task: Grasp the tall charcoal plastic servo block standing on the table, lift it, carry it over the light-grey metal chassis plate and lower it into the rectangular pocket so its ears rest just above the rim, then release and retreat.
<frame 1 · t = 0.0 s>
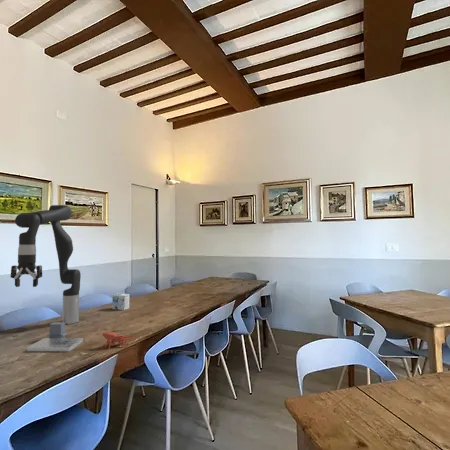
hand: (26, 286, 154), 29 cm above the table, fingers open, 8 cm apart
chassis: (56, 346, 154), on the table
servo: (57, 338, 166), on the table
light bulb box: (120, 309, 236), on the table
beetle: (118, 346, 156), on the table
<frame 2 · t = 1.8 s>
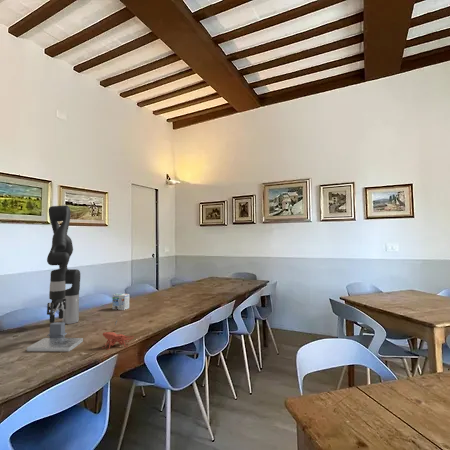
hand: (56, 320, 166), 10 cm above the table, fingers open, 8 cm apart
nothing on the table moved.
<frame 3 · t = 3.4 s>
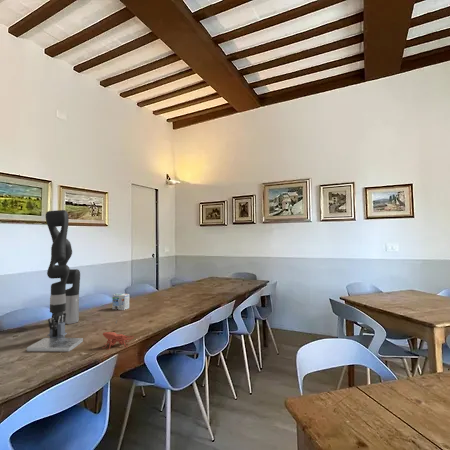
hand: (57, 335, 166), 2 cm above the table, fingers closed on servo, 4 cm apart
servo: (57, 338, 166), on the table, touching gripper
everything else where it was.
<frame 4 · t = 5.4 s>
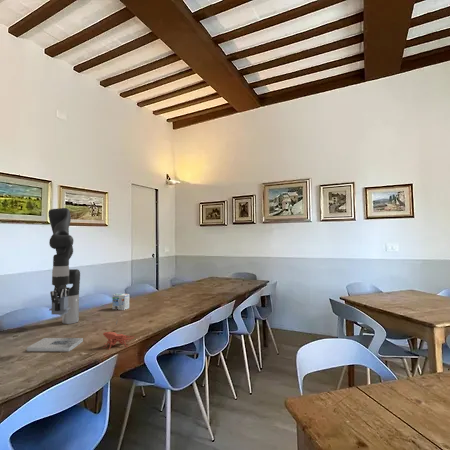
hand: (59, 309, 155), 18 cm above the table, fingers closed on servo, 4 cm apart
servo: (59, 313, 155), point 16 cm above the table, touching gripper
everything else where it was.
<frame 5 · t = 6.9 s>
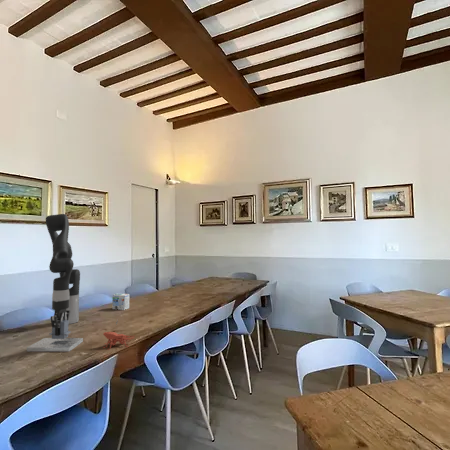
hand: (60, 333, 154), 6 cm above the table, fingers closed on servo, 4 cm apart
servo: (60, 337, 154), point 4 cm above the table, touching gripper
everything else where it was.
when the fingers open (3 cm above the table, at t = 7.8 s): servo drops 1 cm, resting on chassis.
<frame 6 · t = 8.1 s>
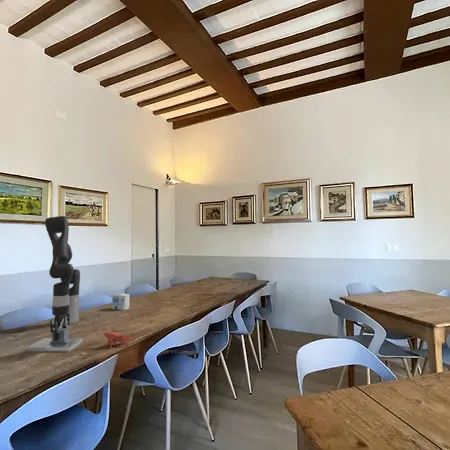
hand: (60, 338, 154), 4 cm above the table, fingers open, 7 cm apart
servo: (60, 345, 154), resting on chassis
everything else where it was.
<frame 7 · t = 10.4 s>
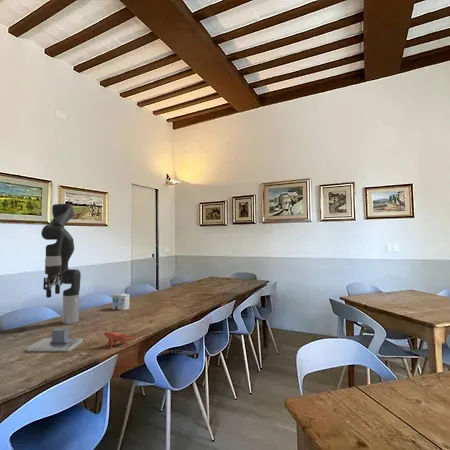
hand: (53, 295, 163), 23 cm above the table, fingers open, 8 cm apart
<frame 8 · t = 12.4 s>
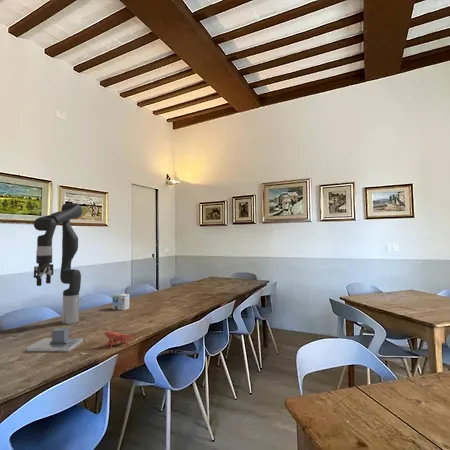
hand: (43, 284, 169), 28 cm above the table, fingers open, 8 cm apart
at the end: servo 0.1 cm from the target spot on the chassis, point 0.2 cm above the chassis's base; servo tilted 0°; the gripper is holding nothing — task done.
